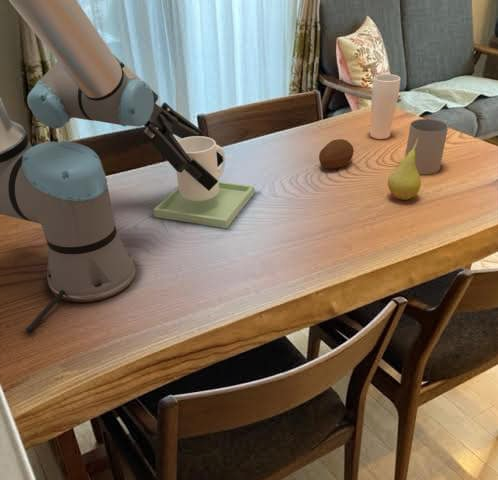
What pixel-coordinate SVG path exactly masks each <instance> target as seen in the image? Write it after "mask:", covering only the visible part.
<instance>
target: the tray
mask: <svg viewBox="0 0 498 480" xmlns="http://www.w3.org/2000/svg"><path fill="white" fill-rule="evenodd" d="M254 195H255V185H250V184H242V183H234V182H227V181H220V180H219V191H218V193H217V194H216V195H215V196H214V197H213V198H211V199H208V200H204V201H191V200H187V199H185V198H183V197H182V196H181V195H180V193H179V188H178V186H176V187H175V188H174V189H173V190H172V191H171V192H170V193H169V194H168V195H167V196H166V197H165V198H164V199H162V201H160V203H159V204H158V205H156V206H155V207H154V208H153V209H152V210H153V215H154V218H160V219H166V220H171V221H179V222H185V223H190V224H196V225H201V226H202V225H203V226H208V227H214V228H215V227H216V228H220V229H221V228H222V229H227V228H228V227H229V226H231V223H233V221H234V220H235V219H236V217H237V216H238V214H240V212H241V211H242V210H243V209H244V207H245V206H246V205H247V204H248V202H249V201H250V200H251V199H252V197H253V196H254Z"/></svg>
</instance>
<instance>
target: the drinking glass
mask: <svg viewBox="0 0 498 480" xmlns="http://www.w3.org/2000/svg"><path fill="white" fill-rule="evenodd" d="M400 87H401V77H400V76H399V75H398V74H397V75H396V74H391V73H381V74H380V73H379V74H377V75H374V76H373V80H372V87H371V105H370V106H371V108H370V131H369V136H370V137H371V138H373V139H375V140H386V139H388V138H390V136H391V133H392V132H391V131H392V126H393V122H394V117H395V113H396V108H397V103H398V99H399V94H400Z"/></svg>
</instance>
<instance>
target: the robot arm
mask: <svg viewBox="0 0 498 480" xmlns="http://www.w3.org/2000/svg"><path fill="white" fill-rule="evenodd" d="M8 2H9V3H10V4H11V5H12V7H13V8H14V9H15V10H16V11H17V13H18V14H19V15H20V16H21V18H22V19H23V20H24V22H25V23H26V24H27V25H28V26H29V28H30V29H31V30H32V31H33V33H34V34H35V35H36V36H37V38H38V39H39V40H40V41H41V43H42V44H43V45H44V46H45V47H46V49H47V50H48V51H49V53H51V55H52V56H53V58H54V59H55V60H56V62H55V63H54V64H53V65H52V66H51V67H50V69H48V71H47V72H45V74H44V75H43V76H42V77H41V78H40V79H39V80H37V81H36V83H35V85H34V87H33V88H32V89H31V90H30V91H29V93H28V95H27V97H26V99H27V100H26V101H27V105H28V106H27V107H28V108H29V110H31V112H32V115H33V116H34V117H35V118H36V119H37V120H38V121H39V122H40V123H42V124H43V125H44V126H46V127H49V128H51V129H61V128H63V127H64V126H66V124H68V123H69V122H70V120H71V119H78V120H85V121H93V122H100V123H107V124H112V125H118V126H122V127H127V126H128V127H139V128H140V127H142V126H143V127H145V130H143V132H142V133H141V134H142V136H143V137H144V138H145V139H146V140H147V141H148V142H150V143H151V144H152V145H153V147H154V148H156V150H157V152H159V153H160V154H161V155H162V156H163V157H164V159H165V160H166V161H167V162H168V163H169V164H170V165H171V167H172V168H173V169H174V170H175V171H178V172H180V173H182V171H183V170H185V171H187V172H188V173H189V174H190V175H191V176H192V177H193V178H195V179H196V180H197V181H198V182H199V183H200V184H201V185H203V186H204V187H205V188H206V189H207V190H208V191H209V190H210V189H211V188H212V187H213V186H214V185H215V184H216V183H217V182H218V180H219V179H218V180H217V179H216V178H214V177H213V176H212V175H211V174H210V173H209V172H208V171H207V170H205V169H204V168H203V167H202V166H201V165H200V164H199V163H198V162H196V161H195V160H194V159H193V160H192V161H191V159H190V158H189V157H188V155H187V154H186V152H185V151H184V150H183V148H182V147H181V145H180V144H179V143H178V139H177V138H180V139H183V138H186V137H193V136H203V137H204V136H205V132H204V131H203V130H201V128H199V127H198V126H196V125H195V124H194V123H192V122H191V121H190V120H189V119H187V118H186V117H184V116H182V115H181V114H180V113H178V112H177V111H176V110H174V109H173V108H172V107H171V106H170V105H169V104H168V103H167V102H163V103H162V104H161V105H158V104H157V101H158V100H159V95H158V94H157V93H156V92H155V91H154V90H153V89H152V88H151V86H150V85H149V84H148V82H145V81H144V80H143V79H141V78H140V77H139V76H138V75H137V74H136V73H135V72H134V71H132V69H130V68H129V67H128V66H127V65H126V64H124V63H123V62H122V61H121V60H120V59H119V58H118V57H116V55H115V54H114V53H113V52H112V50H110V48H109V46H108V45H107V43H106V42H105V40H104V39H103V38H102V36H101V34H100V33H99V31H98V30H97V29H96V27H95V26H94V24H93V22H92V21H91V20H90V18H89V17H88V15H87V13H86V12H85V11H84V9H83V7H82V6H81V4H80V2H78V0H8ZM175 136H176V137H177V138H176V137H175ZM222 164H223V156H222V154H221V153H220V152H217V166H218V167H220V166H221V165H222ZM108 186H109V185H108V179H107V175H106V173H105V171H104V167H103V165H102V161H101V159H100V156H99V155H98V153H96V152H95V150H93V149H92V148H90V147H88V146H87V145H84V144H81V143H77V142H74V141H67V140H61V141H60V142H59V141H58V142H56V141H55V140H53V141H46V142H42V143H39V144H36V145H33V146H32V143H31V140H30V139H29V137H28V134H27V132H26V130H25V127H24V126H23V125H21V124H20V123H17V122H16V121H13V120H11V119H10V116H9V114H8V112H7V110H6V107H5V105H4V102H3V100H2V97H0V215H3V216H6V217H10V218H15V219H20V220H23V221H27V222H31V223H35V224H39V225H41V228H42V231H43V234H44V237H45V241H46V243H47V247H48V253H47V254H48V255H47V271H46V277H47V284H48V286H49V289H50V291H51V293H52V294H53V295H54V298H53V299H52V300H51V301H49V303H48V304H47V305H46V306H45V307H44V308H43V310H42V311H40V313H39V314H38V315H37V316H36V317H35V319H34V320H33V321H32V322H31V323H30V324H29V325H28V326H26V328H25V330H26V331H27V332H28V333H30V332H32V331H33V330H34V328H35V327H36V326H37V325H38V324H39V323H40V322H41V321H42V319H44V317H45V316H46V315H47V314H48V313H49V312H50V310H51V309H52V308H53V307H54V306H55V305H56V304H57V303H58V302H59V301H60V300H63V301H65V302H71V303H93V302H98V301H102V300H105V299H108V298H111V297H113V296H116V295H118V294H120V293H121V292H122V291H124V290H125V289H127V288H128V287H129V286H130V285H131V284H132V283H133V281H134V279H135V276H136V273H137V272H136V266H135V261H134V259H133V257H132V255H131V254H130V252H129V251H128V250H127V249H126V247H125V245H124V243H123V241H122V239H121V238H120V235H119V234H118V232H117V231H118V230H117V227H116V222H115V221H116V220H115V216H114V212H113V207H112V201H111V197H110V196H111V195H110V192H109V187H108Z"/></svg>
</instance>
